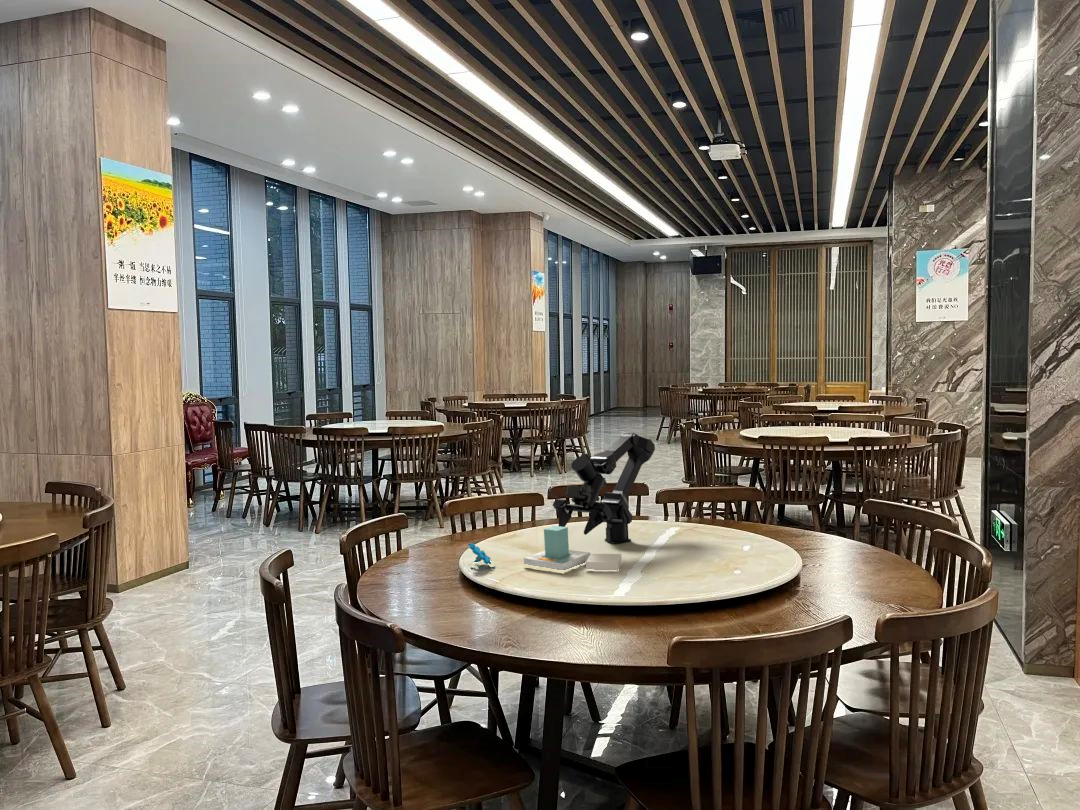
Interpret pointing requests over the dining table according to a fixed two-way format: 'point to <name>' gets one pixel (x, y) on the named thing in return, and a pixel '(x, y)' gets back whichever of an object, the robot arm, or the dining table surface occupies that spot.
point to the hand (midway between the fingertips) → (571, 532)
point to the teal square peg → (556, 542)
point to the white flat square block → (604, 561)
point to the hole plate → (558, 560)
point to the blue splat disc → (479, 554)
